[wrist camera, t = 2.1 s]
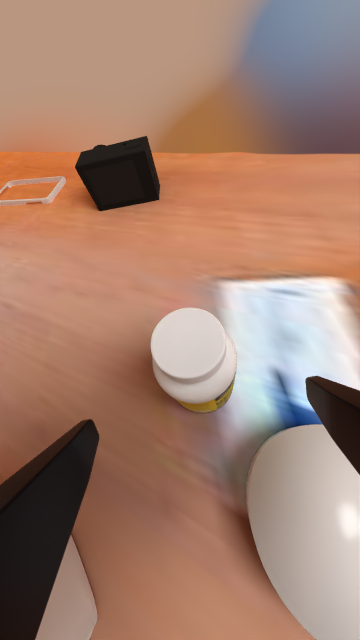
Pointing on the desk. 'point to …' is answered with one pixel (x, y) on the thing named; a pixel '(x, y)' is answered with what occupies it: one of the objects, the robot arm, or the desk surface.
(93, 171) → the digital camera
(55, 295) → the desk surface
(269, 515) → the plinth
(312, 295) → the desk surface
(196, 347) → the supplement bottle
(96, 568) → the desk surface
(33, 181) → the phone case
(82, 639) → the photo printer
